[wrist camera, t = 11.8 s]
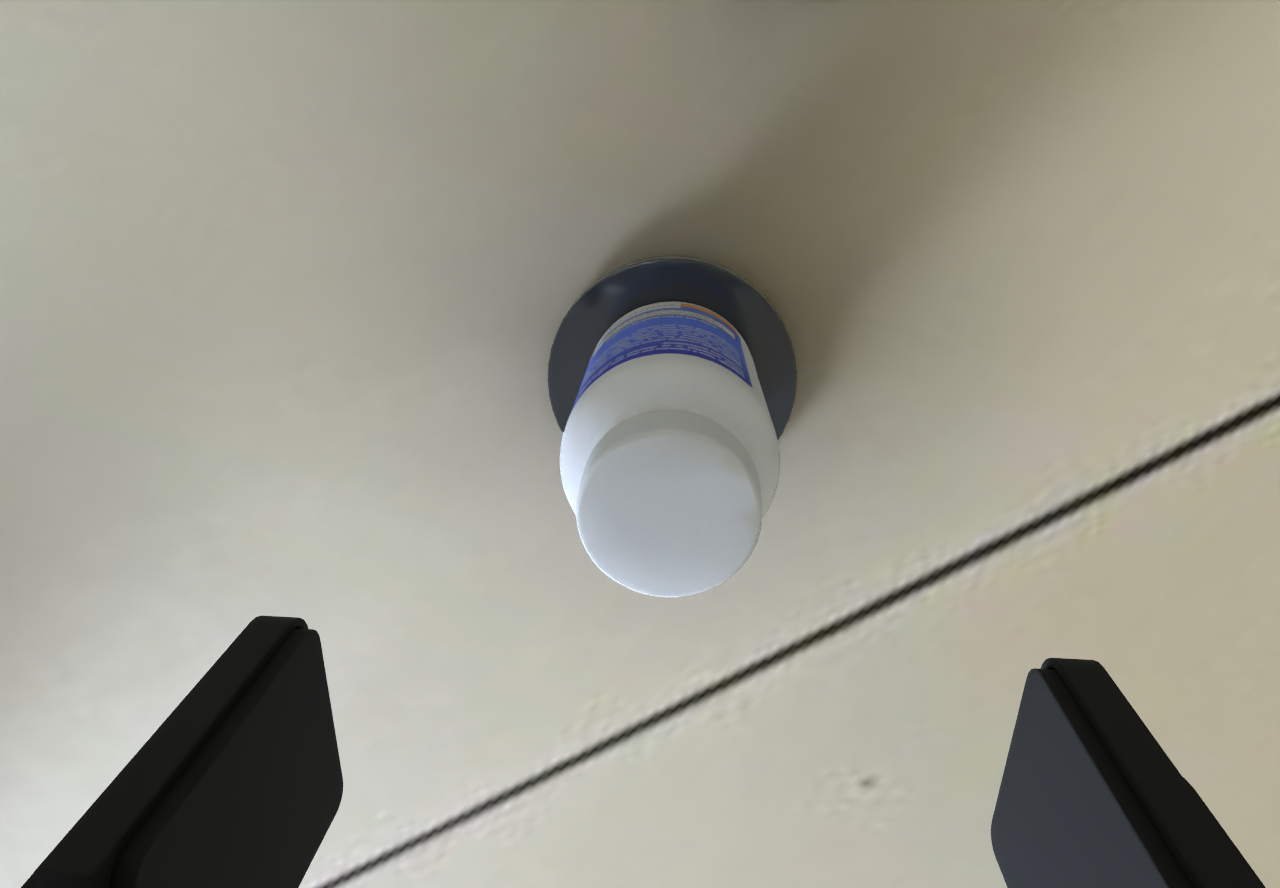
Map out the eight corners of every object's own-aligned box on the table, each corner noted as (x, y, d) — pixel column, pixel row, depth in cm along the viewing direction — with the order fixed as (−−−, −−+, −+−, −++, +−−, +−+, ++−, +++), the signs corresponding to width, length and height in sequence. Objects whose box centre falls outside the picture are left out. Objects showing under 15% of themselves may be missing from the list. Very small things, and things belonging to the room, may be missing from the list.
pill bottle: (556, 356, 26) (485, 480, 17) (700, 263, 25) (705, 345, 16) (649, 487, 28) (628, 665, 19) (789, 407, 26) (841, 557, 17)
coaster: (547, 252, 26) (544, 255, 25) (805, 258, 25) (808, 261, 25) (553, 485, 29) (550, 492, 28) (784, 494, 28) (786, 501, 28)
